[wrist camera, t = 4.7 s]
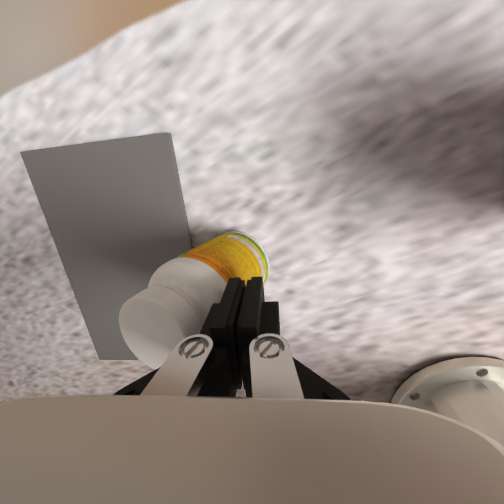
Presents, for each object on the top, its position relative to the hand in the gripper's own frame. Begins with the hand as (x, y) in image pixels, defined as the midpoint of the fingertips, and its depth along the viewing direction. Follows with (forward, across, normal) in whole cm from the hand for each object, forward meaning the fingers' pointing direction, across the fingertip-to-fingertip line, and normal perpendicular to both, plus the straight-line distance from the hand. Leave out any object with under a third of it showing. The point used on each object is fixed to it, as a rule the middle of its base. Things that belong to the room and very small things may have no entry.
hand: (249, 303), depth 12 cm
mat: (+8, +12, +1) cm, 14 cm away
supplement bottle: (+8, +2, +1) cm, 8 cm away
